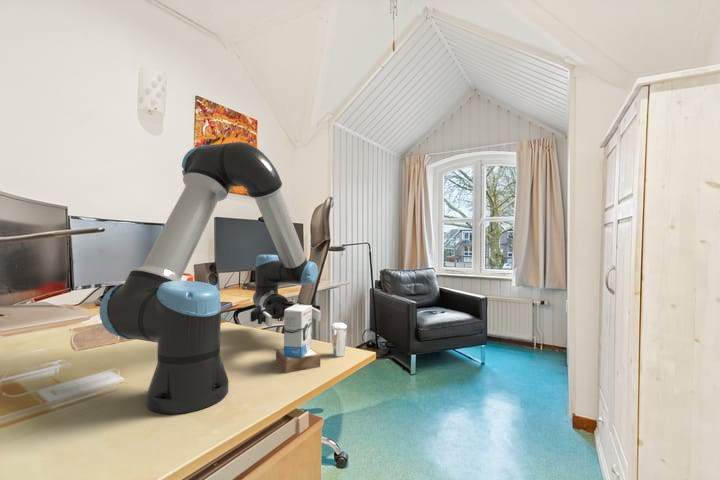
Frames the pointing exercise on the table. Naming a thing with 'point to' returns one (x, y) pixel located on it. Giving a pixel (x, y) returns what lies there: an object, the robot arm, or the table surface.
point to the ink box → (297, 330)
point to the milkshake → (338, 338)
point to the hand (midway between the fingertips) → (295, 318)
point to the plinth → (298, 361)
